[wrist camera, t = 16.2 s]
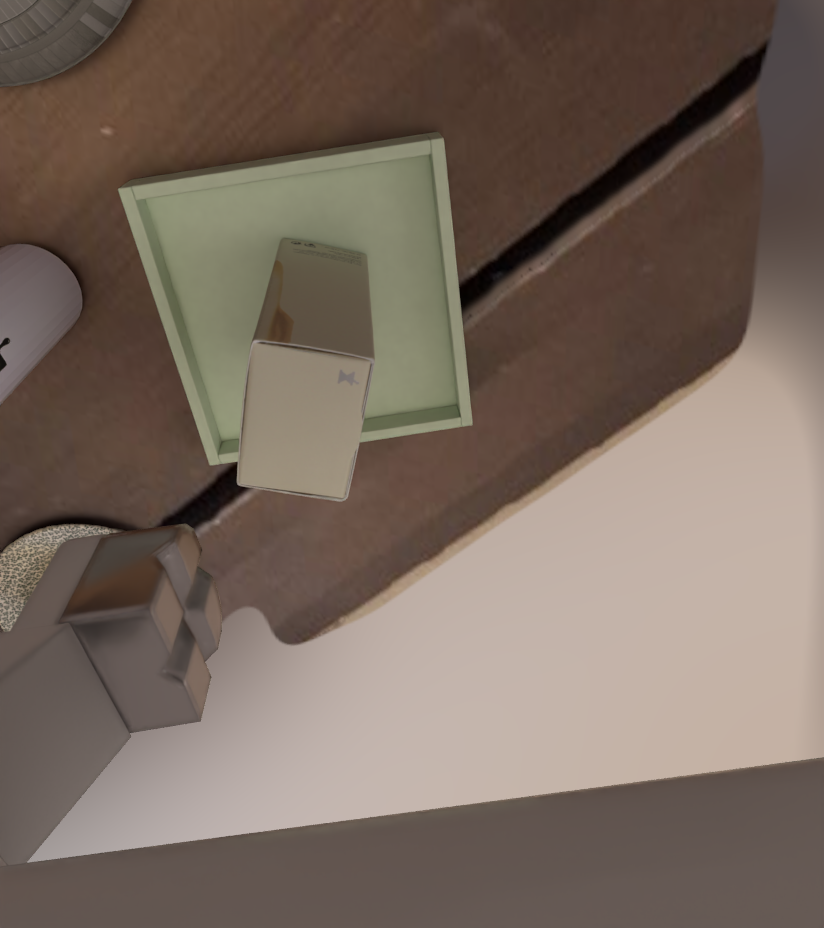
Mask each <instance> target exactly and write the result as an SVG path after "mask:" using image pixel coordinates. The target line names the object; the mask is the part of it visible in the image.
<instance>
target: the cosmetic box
mask: <svg viewBox="0 0 824 928" xmlns="http://www.w3.org/2000/svg"><path fill="white" fill-rule="evenodd" d="M374 366H375V352H374V338H373V325H372V312H371V300H370V286H369V272H368V259H367V255H365V254H362V253H357V252H353V251H348V250H344V249H340V248H335V247H331V246H326V245H321V244H316V243H311V242H305V241H298V240H292V239H285V238H284V239H281V241H280V243H279V247H278V250H277V254H276V258H275V262H274V266H273V269H272V273H271V276H270V280H269V284H268V287H267V291H266V295H265V298H264V302H263V306H262V309H261V313H260V316H259V320H258V323H257V327H256V330H255V333H254V337H253V339H252V342H251V346H250V352H249V358H248V364H247V370H246V377H245V384H244V393H243V402H242V412H241V424H240V436H239V450H238V469H237V484H238V485H239V486H243V487H250V488H257V489H262V490H268V491H274V492H280V493H285V494H293V495H300V496H306V497H312V498H319V499H326V500H333V501H340V502H341V501H344V500H345V499H347V497H348V494H349V489H350V485H351V480H352V476H353V471H354V466H355V461H356V457H357V451H358V447H359V442H360V437H361V432H362V427H363V422H364V416H365V411H366V406H367V401H368V396H369V391H370V386H371V380H372V375H373V370H374Z"/></svg>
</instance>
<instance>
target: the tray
mask: <svg viewBox="0 0 824 928" xmlns="http://www.w3.org/2000/svg"><path fill="white" fill-rule="evenodd" d="M118 192H119V195H120V198H121V201H122V204H123V207H124V210H125V213H126V216H127V219H128V222H129V225H130V228H131V231H132V234H133V237H134V240H135V243H136V246H137V249H138V252H139V255H140V258H141V261H142V264H143V267H144V270H145V273H146V276H147V279H148V282H149V285H150V288H151V291H152V294H153V297H154V300H155V303H156V306H157V309H158V312H159V315H160V318H161V321H162V324H163V327H164V330H165V333H166V336H167V339H168V342H169V345H170V348H171V351H172V354H173V357H174V360H175V363H176V366H177V369H178V372H179V375H180V378H181V381H182V384H183V387H184V390H185V393H186V396H187V399H188V402H189V405H190V408H191V411H192V414H193V417H194V420H195V423H196V426H197V429H198V432H199V435H200V438H201V441H202V444H203V447H204V450H205V453H206V456H207V459H208V462H209V465H217V464H220V463H221V464H223V463H230V462H236V461H238V450H239V436H240V424H241V412H242V402H243V393H244V384H245V377H246V370H247V364H248V358H249V352H250V346H251V342H252V339H253V337H254V333H255V330H256V327H257V323H258V320H259V316H260V313H261V309H262V306H263V302H264V298H265V295H266V291H267V287H268V284H269V280H270V276H271V273H272V269H273V266H274V262H275V258H276V254H277V250H278V247H279V243H280V241H281V239H284V238H285V239H292V240H298V241H305V242H311V243H316V244H321V245H326V246H331V247H335V248H340V249H344V250H348V251H353V252H357V253H362V254H365V255H367V259H368V272H369V286H370V300H371V312H372V325H373V338H374V352H375V366H374V370H373V375H372V380H371V386H370V391H369V396H368V401H367V406H366V411H365V416H364V422H363V427H362V432H361V437H360V442H366V441H372V440H379V439H385V438H392V437H398V436H405V435H411V434H418V433H424V432H430V431H437V430H443V429H450V428H456V427H461V425H462V426H470V425H472V424H473V422H472V412H471V402H470V392H469V383H468V373H467V363H466V353H465V343H464V333H463V323H462V313H461V303H460V293H459V284H458V274H457V264H456V254H455V244H454V234H453V224H452V214H451V204H450V195H449V185H448V175H447V165H446V155H445V145H444V138H443V137H442V136H441V135H440V133H439V132H433V133H426V134H420V135H413V136H407V137H401V138H394V139H388V140H381V141H375V142H369V143H362V144H356V145H349V146H343V147H337V148H330V149H324V150H318V151H311V152H305V153H298V154H292V155H286V156H279V157H273V158H266V159H260V160H254V161H247V162H241V163H234V164H228V165H222V166H215V167H209V168H202V169H196V170H190V171H183V172H177V173H171V174H164V175H158V176H151V177H145V178H139V179H132V180H130V181H128V182H127V183H125V184H124V185H123V186H121V187H120V188H118Z"/></svg>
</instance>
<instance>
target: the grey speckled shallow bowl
mask: <svg viewBox="0 0 824 928" xmlns="http://www.w3.org/2000/svg"><path fill="white" fill-rule="evenodd" d="M124 531H125V530H122V529H117V528H115V529H110V528H107V527H102V526H98V525H87V524H62V525H57V526H56V525H53V526H47V527H46V528H42V529H38V530H35V531H33V532H31V533H28V534H25V535H24V536H22V537H20V538H19V539H17V540H16V541H14V542H13V543H11V544H10V545H8V546H7V547H6V548H5V549H4V550H3V552H2V553H1V554H0V625H1V627H2V629H3V630H4V631H5V632H6V631H10V630H11V628H12V627H13V625H14V623H15V622H16V620H17V618H18V616H19V615H20V613H21V611H22V610H23V608H24V606H25V604H26V603H27V601H28V599H29V598H30V596H31V594H32V592H33V591H34V589H35V587H36V586H37V584H38V582H39V580H40V579H41V577H42V575H43V574H44V572H45V570H46V568H47V567H48V565H49V563H50V562H51V560H52V558H53V556H54V555H55V553H56V551H57V550H58V548H59V546H60V545H61V543H63V542H65V541H67V540H70V539H73V538H80V537H86V536H93V535H100V534H109V533H116V532H124Z"/></svg>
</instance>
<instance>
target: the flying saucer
mask: <svg viewBox="0 0 824 928" xmlns="http://www.w3.org/2000/svg"><path fill="white" fill-rule="evenodd" d="M131 1H132V0H0V87H7V86H17V85H24V84H29V83H33V82H37V81H41V80H44V79H47V78H50V77H52V76H55V75H57V74H60V73H62V72H64V71H66V70H68V69H70V68H71V67H73V66H74V65H76V64H78V63H79V62H81V61H82V60H83V59H85V58H86V57H88V56H89V55H90V54H91V53H92V52H94V51H95V50H96V49H97V48H98V47H99V46H100V45H101V44H102V43H103V42H104V41H105V40H106V39H107V38H108V37H109V35H110V34H111V33H112V32H113V30H114V29H115V28H116V26H117V25H118V24H119V22H120V21H121V19H122V18H123V16H124V14H125V12H126V11H127V9H128V7H129V5H130V3H131Z"/></svg>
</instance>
